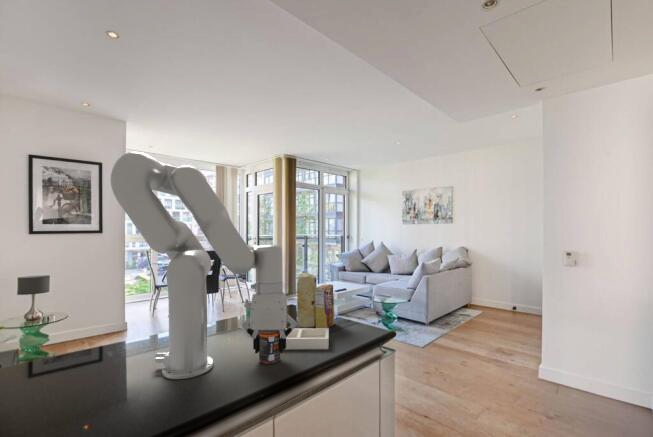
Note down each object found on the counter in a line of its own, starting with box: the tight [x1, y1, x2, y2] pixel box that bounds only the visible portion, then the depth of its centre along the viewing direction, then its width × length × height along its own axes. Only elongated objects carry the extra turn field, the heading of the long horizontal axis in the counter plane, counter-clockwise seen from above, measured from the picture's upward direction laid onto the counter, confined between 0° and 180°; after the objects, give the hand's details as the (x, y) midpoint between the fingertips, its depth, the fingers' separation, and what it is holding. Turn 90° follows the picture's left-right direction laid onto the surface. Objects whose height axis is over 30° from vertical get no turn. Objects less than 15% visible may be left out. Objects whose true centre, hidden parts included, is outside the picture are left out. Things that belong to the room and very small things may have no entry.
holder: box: [280, 327, 330, 350], centre depth 101 cm, size 19×10×3 cm, turn 89°
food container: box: [243, 298, 254, 326], centre depth 118 cm, size 12×6×10 cm, turn 73°
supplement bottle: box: [258, 330, 281, 365], centre depth 89 cm, size 6×6×11 cm
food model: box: [296, 272, 318, 328], centre depth 120 cm, size 10×7×20 cm
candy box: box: [315, 283, 336, 329], centre depth 118 cm, size 9×4×15 cm, turn 155°
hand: (269, 351), depth 89 cm, fingers open, 6 cm apart
